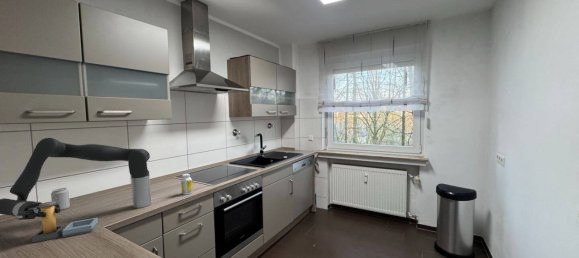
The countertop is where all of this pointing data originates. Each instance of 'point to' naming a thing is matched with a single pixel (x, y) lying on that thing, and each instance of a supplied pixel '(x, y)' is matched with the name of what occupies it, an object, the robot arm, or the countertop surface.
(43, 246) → the countertop surface
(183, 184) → the supplement bottle
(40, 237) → the pin collar
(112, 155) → the robot arm
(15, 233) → the countertop surface
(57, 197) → the can
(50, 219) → the stop pin
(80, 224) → the parts tray
